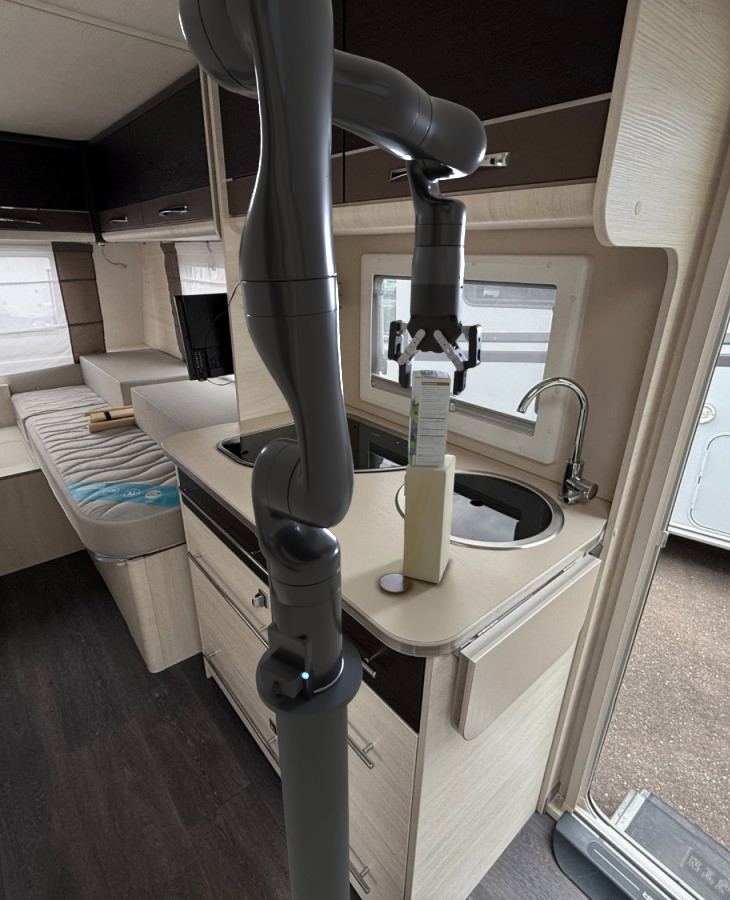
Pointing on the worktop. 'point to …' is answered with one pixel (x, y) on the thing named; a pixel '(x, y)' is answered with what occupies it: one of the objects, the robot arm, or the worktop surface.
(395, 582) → the brown glossy disc
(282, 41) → the robot arm
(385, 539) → the worktop surface
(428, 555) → the tall cream pillar
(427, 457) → the syrup box
